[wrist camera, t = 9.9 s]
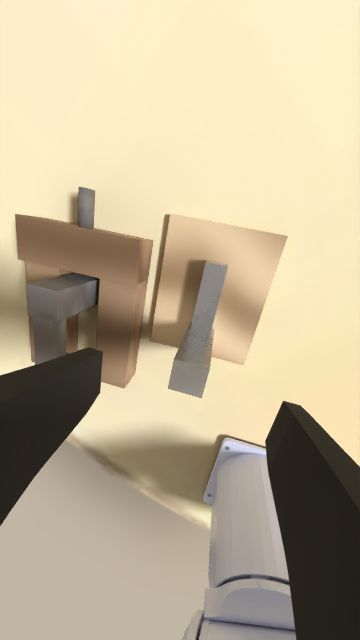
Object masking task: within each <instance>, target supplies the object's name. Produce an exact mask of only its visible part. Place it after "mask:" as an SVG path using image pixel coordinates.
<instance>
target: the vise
mask: <svg viewBox="0 0 360 640" xmlns="http://www.w3.org/2000/svg"><path fill="white" fill-rule="evenodd" d="M94 204H95V191H94V190H91V189H87V188H83V187H79V197H78V225H77V224H72V223H67V222H62V221H57V220H53V219H48V218H41V217H33V216H26V215H19V214H15V218H16V232H17V246H18V259H19V260H24V261H26V277H27V284H26V287H27V303H28V315H29V327H30V343H31V360H32V362H35V365H37V364H40V363H43V362H46V361H49V360H52V359H55V358H58V357H61V356H64V355H67V354H70V353H73V352H76V351H77V339H78V313H79V312H81V311H83V310H86V309H88V308H90V307H92V306H94V305H96V304H98V318H97V335H96V350H99V351H103V358H102V372H101V382H104V383H107V384H111V385H114V386H118V387H121V388H125V387H126V386H127V384H128V383H129V381H130V380H131V378H132V377H133V375H134V374H135V370H136V363H137V355H138V348H139V341H140V333H141V326H142V319H143V312H144V304H145V297H146V290H147V282H148V275H149V268H150V261H151V253H152V246H153V240H148V239H144V238H139V237H134V236H129V235H124V234H120V233H115V232H110V231H105V230H100V229H96V228H93V227H94Z"/></svg>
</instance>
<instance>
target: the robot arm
mask: <svg viewBox="0 0 360 640" xmlns="http://www.w3.org/2000/svg"><path fill="white" fill-rule="evenodd" d="M102 358H103V351H99V350H96V349H92V348H86V349H82V350H79V351H76V352H73V353H70V354H67V355H64V356H61V357H58V358H55V359H52V360H49V361H46V362H43V363H40V364H37V365H34V366H31V367H27V368H24V369H21V370H17V371H14V372H11V373H7V374H4V375H1V376H0V526H1V524H2V523H3V521H4V520H5V518H6V517H7V515H8V513H9V512H10V511H11V509H12V508H13V506H14V505H15V504H16V502H17V501H18V499H19V498H20V497H21V495H22V494H23V492H24V491H25V489H26V488H27V487H28V485H29V484H30V482H31V481H32V480H33V478H34V477H35V476H36V474H37V473H38V472H39V471H40V469H41V468H42V467H43V466H44V464H45V463H46V462H47V461H48V459H49V458H50V457H51V456H52V455H53V453H54V452H55V451H56V450H57V449H58V447H59V446H60V445H61V444H62V443H63V441H64V440H65V439H66V438H67V437H68V435H69V434H70V433H71V432H72V431H73V429H74V428H75V427H76V426H77V425H78V423H79V422H80V421H81V420H82V418H83V417H84V416H85V415H86V413H87V412H88V410H89V409H90V407H91V406H92V404H93V403H94V401H95V399H96V398H97V396H98V395H99V393H100V386H101V372H102ZM265 443H266V449H265V448H262V447H259V446H255V445H252V444H249V443H245V442H242V441H239V440H235V439H232V438H228V437H227V438H224V439H223V442H222V445H221V448H220V450H219V453H218V456H217V459H216V462H215V465H214V467H213V470H212V473H211V476H210V479H209V482H208V484H207V487H206V490H205V493H204V496H203V501H204V502H205V503H206V504H209V505H212V512H211V532H210V553H209V586H210V588H206V589H205V601H204V610H198V611H196V612H195V613H194V615H193V617H192V619H191V621H190V624H189V625H188V627H187V629H186V631H185V633H184V636H183V640H360V467H359V466H358V465H357V464H356V463H355V461H354V460H353V459H352V458H351V457H350V456H349V455H348V454H347V453H346V452H345V451H344V450H343V449H342V448H341V447H340V446H339V445H338V444H337V443H336V442H335V441H334V440H333V439H332V438H331V436H330V435H329V434H328V433H327V432H326V431H325V430H324V429H323V428H322V427H321V426H320V425H319V424H318V423H317V422H316V421H315V420H314V419H313V417H312V416H311V415H310V414H309V413H308V412H307V411H306V410H305V409H303V408H302V407H301V406H300V405H296V404H293V403H289V402H285V401H283V403H282V405H281V407H280V409H279V412H278V414H277V416H276V418H275V421H274V423H273V425H272V427H271V430H270V432H269V434H268V436H267V439H266V441H265ZM226 446H228V447H226Z"/></svg>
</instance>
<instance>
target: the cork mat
mask: <svg viewBox="0 0 360 640" xmlns="http://www.w3.org/2000/svg"><path fill="white" fill-rule="evenodd" d="M287 237H288V236H284V235H279V234H273V233H268V232H263V231H258V230H253V229H248V228H242V227H237V226H232V225H227V224H222V223H216V222H211V221H206V220H201V219H196V218H191V217H185V216H180V215H175V214H170V219H169V225H168V231H167V238H166V244H165V250H164V257H163V263H162V270H161V276H160V282H159V289H158V295H157V302H156V308H155V314H154V321H153V327H152V333H151V340H150V341H153V342H157V343H161V344H165V345H169V346H172V347H176V348H179V347H180V344H181V342H182V340H183V337H184V335H185V333H186V330H187V328H188V326H189V324H190V323H192V320H193V316H194V312H195V307H196V303H197V298H198V294H199V289H200V285H201V281H202V276H203V272H204V267H205V263H206V261H207V260H209V261H213V262H218V263H223V264H228V269H227V273H226V277H225V281H224V284H223V288H222V292H221V296H220V300H219V303H218V307H217V311H216V315H215V319H214V322H213V326H212V328H213V329H214V336H213V345H212V353H211V357H214V358H218V359H222V360H226V361H230V362H234V363H237V364H241V365H244V363H245V360H246V357H247V354H248V351H249V348H250V345H251V342H252V339H253V336H254V333H255V330H256V327H257V325H258V322H259V319H260V316H261V313H262V310H263V307H264V304H265V301H266V298H267V295H268V292H269V289H270V286H271V283H272V281H273V278H274V275H275V272H276V269H277V266H278V263H279V260H280V257H281V254H282V251H283V248H284V245H285V242H286V239H287Z"/></svg>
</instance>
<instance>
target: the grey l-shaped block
mask: <svg viewBox="0 0 360 640" xmlns="http://www.w3.org/2000/svg"><path fill="white" fill-rule="evenodd" d="M227 269H228V264H223V263H218V262H213V261H209V260H207V261H206V263H205V267H204V272H203V276H202V281H201V285H200V289H199V294H198V298H197V303H196V307H195V312H194V316H193V320H192V323H190V324H189V326H188V328H187V330H186V333H185V335H184V337H183V340H182V342H181V344H180V347H179V349H178V351H177V353H176V356H175V358H174V362H173V367H172V371H171V376H170V381H169V386H168V389H171V390H175V391H178V392H182V393H185V394H189V395H192V396H196V397H199V398H202V395H203V391H204V387H205V384H206V380H207V377H208V373H209V369H210V362H211V353H212V345H213V336H214V329H213V328H212V326H213V322H214V319H215V315H216V311H217V307H218V303H219V300H220V296H221V292H222V288H223V284H224V281H225V277H226V273H227Z"/></svg>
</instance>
